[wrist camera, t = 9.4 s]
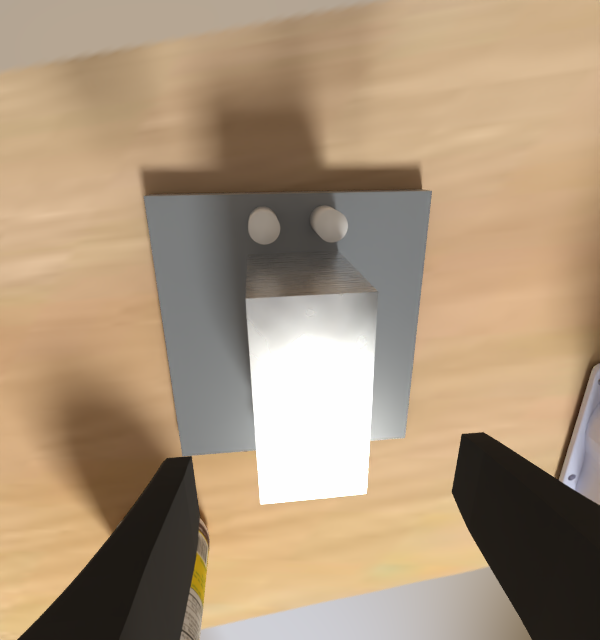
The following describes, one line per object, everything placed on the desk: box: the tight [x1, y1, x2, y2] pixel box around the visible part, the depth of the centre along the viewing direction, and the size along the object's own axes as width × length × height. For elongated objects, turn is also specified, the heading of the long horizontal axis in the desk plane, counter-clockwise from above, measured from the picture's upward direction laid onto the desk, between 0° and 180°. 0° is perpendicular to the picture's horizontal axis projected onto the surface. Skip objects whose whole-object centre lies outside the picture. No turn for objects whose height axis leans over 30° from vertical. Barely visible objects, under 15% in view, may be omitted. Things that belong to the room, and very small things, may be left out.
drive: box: [245, 251, 378, 504], centre depth 16 cm, size 8×4×6 cm, turn 1°
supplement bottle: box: [117, 519, 209, 640], centre depth 19 cm, size 6×6×10 cm
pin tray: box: [144, 189, 432, 456], centre depth 18 cm, size 13×12×3 cm
